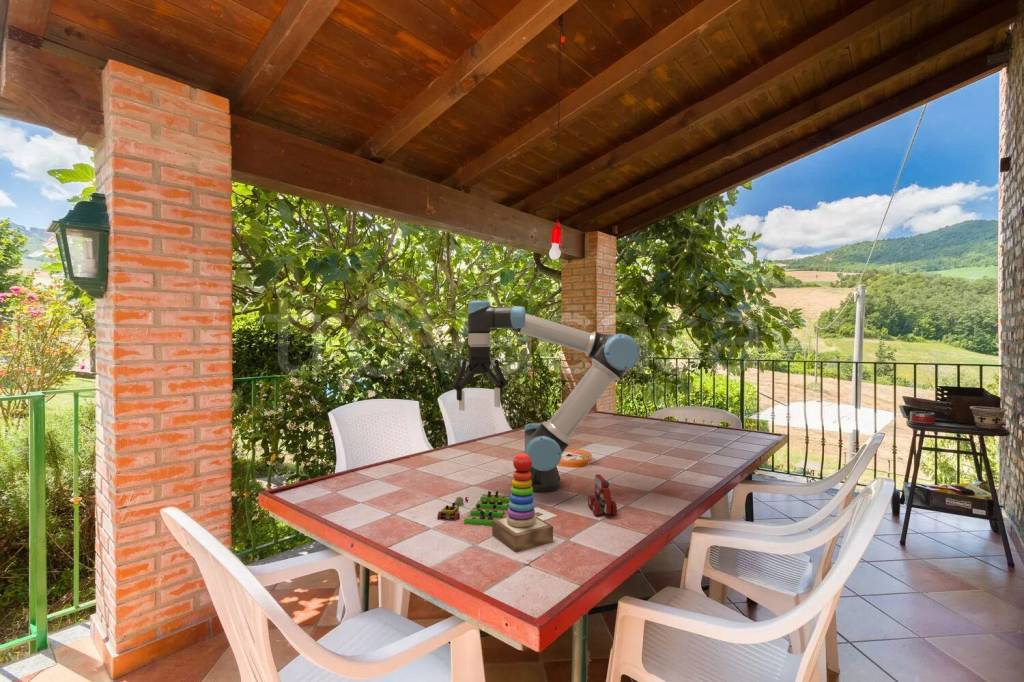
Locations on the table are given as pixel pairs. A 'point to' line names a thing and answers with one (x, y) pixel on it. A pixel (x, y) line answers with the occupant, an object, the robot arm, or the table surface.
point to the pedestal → (522, 534)
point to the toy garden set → (479, 509)
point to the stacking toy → (521, 494)
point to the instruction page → (543, 514)
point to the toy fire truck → (602, 498)
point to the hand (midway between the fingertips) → (479, 408)
